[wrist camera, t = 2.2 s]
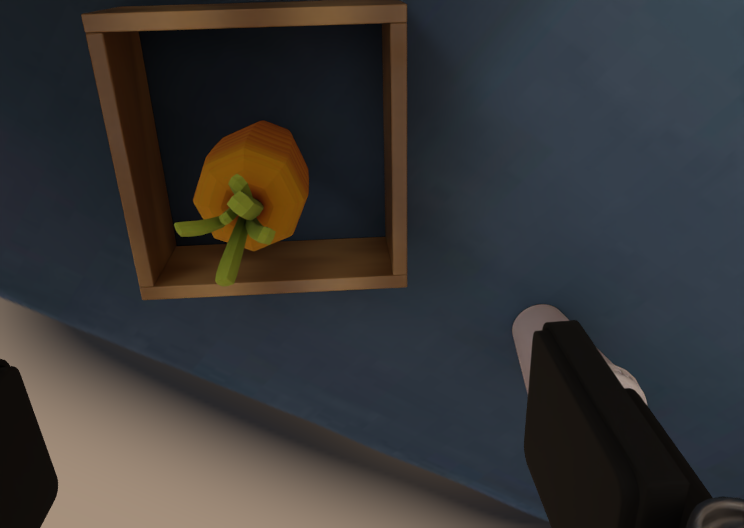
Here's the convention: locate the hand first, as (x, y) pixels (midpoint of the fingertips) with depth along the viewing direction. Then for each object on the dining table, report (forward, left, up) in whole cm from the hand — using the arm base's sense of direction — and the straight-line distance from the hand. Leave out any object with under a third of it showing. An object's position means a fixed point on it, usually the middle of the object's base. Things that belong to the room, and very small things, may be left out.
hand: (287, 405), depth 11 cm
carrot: (-2, -2, -27) cm, 27 cm away
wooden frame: (-2, -2, -27) cm, 27 cm away
